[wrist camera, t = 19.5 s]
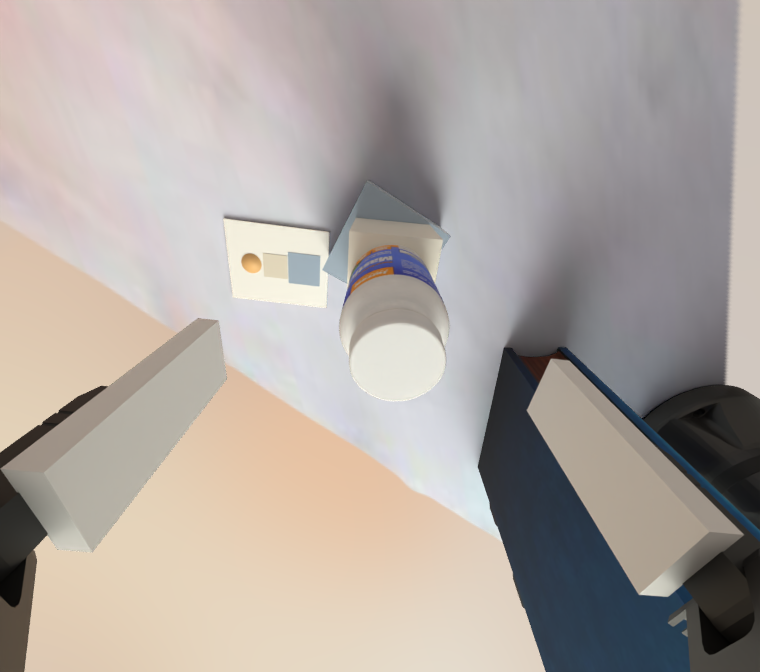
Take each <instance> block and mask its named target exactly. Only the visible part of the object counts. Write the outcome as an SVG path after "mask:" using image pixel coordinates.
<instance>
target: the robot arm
mask: <svg viewBox="0 0 760 672" xmlns="http://www.w3.org/2000/svg"><path fill="white" fill-rule="evenodd" d="M226 380H227V376H226V370H225V362H224V355H223V348H222V341H221V334H220V327H219V321H218V320H210V319H201V318H198V319H196V320H195V321H194V322H192V323H191V324H190V325H188V326H187V327H186V328H184V329H183V330H182V331H180V332H179V333H178V334H177V335H175V336H174V337H173V338H171V339H170V340H169V341H167V342H166V343H165V344H163V345H162V346H161V347H160V348H158V349H157V350H156V351H154V352H153V353H152V354H150V355H149V356H148V357H146V358H145V359H144V360H142V361H141V362H140V363H138V364H137V365H136V366H135V367H133V368H132V369H131V370H129V371H128V372H127V373H125V374H124V375H123V376H121V377H120V378H119V379H118V380H116V381H115V382H114V383H112V384H111V385H110V386H100V387H98V388H96V389H94V390H91V391H89V392H87V393H85V394H83V395H80V396H78V397H77V398H75V399H74V400H73V401H71V402H70V403H68V404H67V405H66V406H64V407H63V408H61V409H60V410H59V412H58V413H55V414H53V415H52V416H50V417H49V418H48V419H46V420H45V421H43V424H42V425H38V426H36V427H35V428H34V429H33V430H31V431H29V432H28V433H27V434H25V435H24V436H23V437H21V438H20V439H18V440H17V441H16V442H14V443H13V444H11V445H10V446H9V447H7V448H6V449H4V450H3V451H2V452H1V453H0V672H24V669H25V660H26V651H27V643H28V634H29V625H30V617H31V608H32V599H33V590H34V581H35V573H36V564H37V559H36V555H35V552H34V550H33V549H34V548H35V547H36V546H37V545H38V544H39V543H40V542H41V541H42V540H43V539H44V538H45V537H46V536H48V537H49V538H50V540H51V541H52V543H53V544H54V545H55V547H56V548H57V550H70V551H82V552H93V551H94V550H95V548H96V547H97V546H98V544H99V543H100V542H101V540H102V539H103V538H104V537H105V535H106V534H107V533H108V532H109V530H110V529H111V528H112V526H113V525H114V524H115V523H116V521H117V520H118V519H119V517H120V516H121V515H122V513H123V512H124V511H125V510H126V508H127V507H128V506H129V505H130V503H131V502H132V500H133V499H134V498H135V497H136V496H137V494H138V493H139V492H140V490H141V489H142V488H143V486H144V485H145V484H146V483H147V481H148V480H149V479H150V477H151V476H152V475H153V474H154V472H155V471H156V470H157V468H158V467H159V466H160V465H161V463H162V462H163V461H164V459H165V458H166V457H167V456H168V454H169V453H170V452H171V450H172V449H173V448H174V447H175V445H176V444H177V443H178V441H179V440H180V439H181V438H182V436H183V435H184V434H185V432H186V431H187V430H188V429H189V427H190V426H191V424H192V423H193V422H194V420H195V419H196V418H197V417H198V416H199V414H200V413H201V412H202V410H203V409H204V408H205V407H206V405H207V404H208V403H209V401H210V400H211V399H212V398H213V396H214V395H215V394H216V392H217V391H218V390H219V388H220V387H221V386H222V385H223V383H224V382H225V381H226ZM527 412H528V413H529V415H530V417H531V418H532V420H533V422H534V423H535V425H536V427H537V428H538V430H539V432H540V433H541V435H542V436H543V438H544V440H545V441H546V443H547V445H548V446H549V448H550V450H551V451H552V453H553V455H554V456H555V458H556V459H557V461H558V463H559V464H560V466H561V468H562V469H563V471H564V473H565V474H566V476H567V478H568V479H569V481H570V482H571V484H572V486H573V487H574V489H575V491H576V492H577V494H578V496H579V497H580V499H581V501H582V502H583V504H584V506H585V507H586V509H587V510H588V512H589V514H590V515H591V517H592V519H593V520H594V522H595V524H596V525H597V527H598V529H599V530H600V532H601V533H602V535H603V537H604V538H605V540H606V542H607V543H608V545H609V547H610V548H611V550H612V552H613V553H614V555H615V556H616V558H617V560H618V561H619V563H620V565H621V566H622V568H623V570H624V571H625V573H626V575H627V576H628V578H629V580H630V581H631V583H632V584H633V586H634V588H635V589H636V591H637V593H638V594H639V595H650V596H663V597H668V596H670V595H671V594H672V593H673V592H674V591H676V590H677V589H678V588H679V587H681V586H682V585H684V586H685V588H686V589H687V590H688V592H689V593H690V594H691V596H692V597H693V598H692V599H691V600H690V601H688V602H687V603H686V604H684V605H683V606H682V607H680V608H679V609H678V610H676V611H675V612H674V613H672V614H671V615H670V616H669V619H668V624H670V625H671V626H673V627H674V626H675V625H677V624H678V623H679V622H681V621H682V620H683V619H684V620H687V628H685V629H684V630H683V631H682V634H684V635H685V636H687V637H688V646H689V660H690V672H760V541H758V540H757V539H756V538H755V537H754V536H753V535H752V534H751V533H750V532H749V531H748V530H747V529H746V528H745V527H744V526H743V525H742V524H741V523H740V522H739V521H738V520H737V519H736V518H735V517H734V516H733V515H732V514H731V513H730V512H729V511H728V510H727V509H726V508H725V507H724V506H722V505H721V504H720V503H719V502H718V501H717V500H716V499H715V498H714V497H713V496H712V495H711V494H710V493H709V492H708V491H707V490H706V489H705V488H702V487H701V484H700V483H699V482H698V481H697V480H696V479H695V478H694V477H693V476H692V475H691V474H687V470H686V469H684V468H683V467H682V466H681V465H680V464H679V463H678V462H677V461H676V460H675V459H674V458H673V457H672V456H671V455H670V454H668V453H667V452H666V451H664V450H663V449H661V448H660V447H658V446H657V445H656V444H654V443H653V442H651V441H649V440H648V439H647V438H646V437H645V436H644V435H643V434H642V433H641V432H640V431H639V430H638V429H637V428H636V427H635V426H634V425H633V424H632V423H631V422H630V421H629V420H628V419H627V418H626V417H625V416H624V415H623V414H622V413H621V412H620V411H619V410H618V409H617V408H616V407H615V406H614V405H613V404H612V403H611V402H610V401H609V400H608V399H607V398H606V397H605V396H604V395H603V394H602V393H601V392H600V391H599V390H598V389H597V388H596V387H595V386H594V385H593V384H592V383H591V382H590V381H589V380H588V379H587V378H586V377H585V376H584V375H583V374H582V373H581V372H580V371H579V370H578V369H577V368H576V367H575V366H574V365H573V364H572V363H571V362H570V361H568V360H559V359H551V360H550V362H549V364H548V366H547V368H546V370H545V373H544V375H543V377H542V379H541V381H540V383H539V385H538V388H537V390H536V392H535V394H534V396H533V398H532V400H531V403H530V405H529V407H528V409H527ZM643 421H644V422H646V423H647V424H648V425H649V426H650V427H651V428H652V429H653V430H654V431H655V432H656V433H657V434H658V435H659V436H660V437H661V438H663V439H664V440H665V441H666V442H667V443H668V444H669V445H670V446H671V447H672V448H673V449H674V450H675V451H676V452H677V453H678V454H679V455H681V456H682V457H683V458H684V459H685V460H686V461H687V462H688V463H689V464H690V465H691V466H692V467H693V468H694V469H695V470H696V471H697V472H699V473H700V474H701V475H702V476H703V477H704V478H705V479H706V480H707V481H708V482H709V483H710V484H711V485H712V486H713V487H714V488H716V489H717V490H718V491H719V492H720V493H721V494H722V495H723V496H724V497H725V498H726V499H727V500H728V501H729V502H730V503H731V504H732V505H734V506H735V507H736V508H737V509H738V510H739V511H740V512H741V513H742V514H743V515H744V516H745V517H746V518H747V519H748V520H749V521H750V522H752V523H753V524H754V525H755V526H756V527H757V528H758V529H759V530H760V399H759V398H757V397H755V396H754V395H752V394H750V393H749V392H747V391H745V390H744V389H741V388H738V387H735V386H729V385H714V386H707V387H702V388H698V389H694V390H691V391H688V392H685V393H683V394H680V395H678V396H676V397H674V398H672V399H670V400H668V401H666V402H665V403H663V404H662V405H660V406H659V407H657V408H656V409H655V410H653V411H652V412H651V413H650V414H649V415H648V416H647V417H646V418H645V419H644V420H643Z"/></svg>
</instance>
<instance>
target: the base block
mask: <svg viewBox="0 0 760 672" xmlns="http://www.w3.org/2000/svg"><path fill="white" fill-rule="evenodd" d="M355 218H365V219H376V220H386V221H396V222H407V223H417V224H427V225H430V226H431V227H432V228H433V229H434V230H435V231H436V233H437V234H438V235H439V236H440V237H441V238H442V239H443V243H442V249H443V247H444V246H445V244H446V243H447V241H448V240H449V238H450V237H451V236H450V235H449V234H448V233H447V232H445V231H444V230H443V229H442V228H441V227H440V226H438V225H437V224H435V223H433V222H432V221H430V220H429V219H427V218H426V217H424V216H423V215H421V214H420V213H418V212H417V211H415V210H414V209H412V208H411V207H409V206H407V205H406V204H404V203H403V202H401V201H400V200H398V199H397V198H395V197H394V196H392V195H391V194H389V193H388V192H386V191H385V190H383V189H382V188H380V187H378V186H377V185H375V184H374V183H372V182H371V181H369V180H368V181H367V182H366V184H365V186H364V188H363V190H362V192H361V194H360V196H359V198H358V200H357V202H356V204H355V205H354V207H353V209H352V211H351V213H350V215H349V217H348V219H347V221H346V223H345V225H344V227H343V229H342V231H341V233H340V235H339V237H338V239H337V241H336V243H335V245H334V247H333V249H332V251H331V253H330V255H329V257H328V259H327V261H326V263H325V265H324V267H323V269H322V270H323V271H325V272H326V273H328V274H330V275H332V276H334V277H336V278H337V279H339V280H341V281H343V282H345V283H347V274H348V248H349V230H350V228H351V226H352V224H353V222H354V220H355ZM442 249H441V250H442Z"/></svg>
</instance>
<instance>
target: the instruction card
mask: <svg viewBox="0 0 760 672" xmlns="http://www.w3.org/2000/svg"><path fill="white" fill-rule="evenodd" d="M223 220H224V228H225V236H226V244H227V253H228V261H229V269H230V278H231V286H232V294H233V298H241V299H250V300H259V301H268V302H277V303H286V304H294V305H303V306H312V307H321V308H327V288H328V273H326V272H325V271H323V270H322V269H323V267H324V265H325V263H326V261H327V259H328V257H329V239H330V232H327V231H320V230H312V229H304V228H296V227H288V226H280V225H273V224H265V223H257V222H249V221H241V220H233V219H226V218H225V219H223Z"/></svg>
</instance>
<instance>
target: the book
mask: <svg viewBox="0 0 760 672" xmlns="http://www.w3.org/2000/svg"><path fill="white" fill-rule="evenodd" d="M551 359H559V360H568V361H570V362H571V363H572V364H573V365H574V366H575V367H576V368H577V369H578V370H579V371H580V372H581V373H582V374H583V375H584V376H585V377H586V378H587V379H588V380H589V381H590V382H591V383H592V384H593V385H594V386H595V387H596V388H597V389H598V390H599V391H600V392H601V393H602V394H603V395H604V396H605V397H606V398H607V399H608V400H609V401H610V402H611V403H612V404H613V405H614V406H615V407H616V408H617V409H618V410H619V411H620V412H621V413H622V414H623V415H624V416H625V417H626V418H627V419H628V420H629V421H630V422H631V423H632V424H633V425H634V426H635V427H636V428H637V429H638V430H639V431H640V432H641V433H642V434H643V435H644V436H645V437H646V438H647V439H648V440H649V441H651V442H653V443H654V444H656V445H657V446H658V447H660V448H661V449H663V450H664V451H666V452H667V453H668V454H670V455H671V456H672V457H673V458H674V459H675V460H676V461H677V462H678V463H679V464H680V465H681V466H682V467H683V468H684V469H686V470H687V474H691V475H692V476H693V477H694V478H695V479H696V480H697V481H698V482H699V483H700V484H701V487H702V488H705V489H706V490H707V491H708V492H709V493H710V494H711V495H712V496H713V497H714V498H715V499H716V500H717V501H718V502H719V503H720V504H721V505H722V506H724V507H725V508H726V509H727V510H728V511H729V512H730V513H731V514H732V515H733V516H734V517H735V518H736V519H737V520H738V521H739V522H740V523H741V524H742V525H743V526H744V527H745V528H746V529H747V530H748V531H749V532H750V533H751V534H752V535H753V536H754V537H755V538H756V539H757V540H758V541H760V530H759V529H758V528H757V527H756V526H755V525H754V524H753V523H752V522H750V521H749V520H748V519H747V518H746V517H745V516H744V515H743V514H742V513H741V512H740V511H739V510H738V509H737V508H736V507H735V506H734V505H732V504H731V503H730V502H729V501H728V500H727V499H726V498H725V497H724V496H723V495H722V494H721V493H720V492H719V491H718V490H717V489H716V488H714V487H713V486H712V485H711V484H710V483H709V482H708V481H707V480H706V479H705V478H704V477H703V476H702V475H701V474H700V473H699V472H697V471H696V470H695V469H694V468H693V467H692V466H691V465H690V464H689V463H688V462H687V461H686V460H685V459H684V458H683V457H682V456H681V455H679V454H678V453H677V452H676V451H675V450H674V449H673V448H672V447H671V446H670V445H669V444H668V443H667V442H666V441H665V440H664V439H663V438H661V437H660V436H659V435H658V434H657V433H656V432H655V431H654V430H653V429H652V428H651V427H650V426H649V425H648V424H647V423H646V422H644V421H643V420H642V419H641V418H640V417H639V416H638V415H637V414H636V413H635V412H634V411H633V410H632V409H631V408H630V407H629V406H628V405H626V404H625V403H624V402H623V401H622V400H621V399H620V398H619V397H618V396H617V395H616V394H615V393H614V392H613V391H612V390H611V389H610V388H608V387H607V386H606V385H605V384H604V383H603V382H602V381H601V380H600V379H599V378H598V377H597V376H596V375H595V374H594V373H593V372H591V371H590V370H589V369H588V368H587V367H586V366H585V365H584V364H583V363H582V362H581V361H580V360H579V359H578V358H577V357H576V356H575V355H573V354H572V353H571V352H570V351H569V350H568V349H567V348H566V347H558V349H557V353H555V354H552V355H550V356H544V357H523V356H518V355H517V354H516V353H515V351H514V350H513V349H512V348H504V350H503V355H502V360H501V364H500V369H499V373H498V378H497V382H496V387H495V391H494V396H493V401H492V405H491V410H490V414H489V419H488V423H487V428H486V432H485V437H484V442H483V446H482V451H481V455H480V460H479V464H478V469H479V472H480V475H481V478H482V481H483V484H484V487H485V490H486V493H487V496H488V499H489V502H490V509H491V512H492V515H493V519H494V522H495V524H496V525H497V526H498V529H499V532H500V535H501V538H502V541H503V544H504V547H505V550H506V553H507V556H508V559H509V562H510V565H511V568H512V571H513V580H514V582H515V586H516V588H517V592H518V594H519V598H520V601H521V604H522V606H523V608H525V610H526V613H527V616H528V619H529V622H530V625H531V628H532V632H533V635H534V638H535V641H536V643H537V646H538V649H539V652H540V655H541V659H542V661H543V665H544V667H545V671H546V672H690V660H689V646H688V637H687V636H685V635H684V634H682V631H683V630H684V629H685V628H687V620H684V619H683V620H682V621H681V622H679V623H678V624H677V625H675V626H674V627H673V626H671V625H670V624H668V619H669V616H670V615H671V614H672V613H674V612H675V611H676V610H678V609H679V608H680V607H682V606H683V605H684V604H686V603H687V602H688V601H690V600H691V599H692V598H693V597H692V596H691V594H690V593H689V592H688V590H687V589H686V588H685V586H684V585H682V586H681V587H679V588H678V589H677V590H676V591H674V592H673V593H672V594H671V595H670V596H668V597H663V596H650V595H639V594H638V593H637V591H636V589H635V588H634V586H633V584H632V583H631V581H630V580H629V578H628V576H627V575H626V573H625V571H624V570H623V568H622V566H621V565H620V563H619V561H618V560H617V558H616V556H615V555H614V553H613V552H612V550H611V548H610V547H609V545H608V543H607V542H606V540H605V538H604V537H603V535H602V533H601V532H600V530H599V529H598V527H597V525H596V524H595V522H594V520H593V519H592V517H591V515H590V514H589V512H588V510H587V509H586V507H585V506H584V504H583V502H582V501H581V499H580V497H579V496H578V494H577V492H576V491H575V489H574V487H573V486H572V484H571V482H570V481H569V479H568V478H567V476H566V474H565V473H564V471H563V469H562V468H561V466H560V464H559V463H558V461H557V459H556V458H555V456H554V455H553V453H552V451H551V450H550V448H549V446H548V445H547V443H546V441H545V440H544V438H543V436H542V435H541V433H540V432H539V430H538V428H537V427H536V425H535V423H534V422H533V420H532V418H531V417H530V415H529V413H528V412H527V409H528V407H529V405H530V403H531V400H532V398H533V396H534V394H535V392H536V390H537V388H538V385H539V383H540V381H541V379H542V377H543V375H544V373H545V370H546V368H547V366H548V364H549V362H550V360H551Z"/></svg>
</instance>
